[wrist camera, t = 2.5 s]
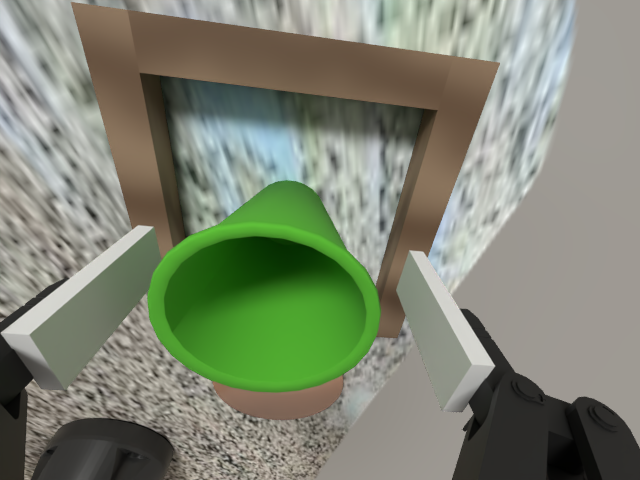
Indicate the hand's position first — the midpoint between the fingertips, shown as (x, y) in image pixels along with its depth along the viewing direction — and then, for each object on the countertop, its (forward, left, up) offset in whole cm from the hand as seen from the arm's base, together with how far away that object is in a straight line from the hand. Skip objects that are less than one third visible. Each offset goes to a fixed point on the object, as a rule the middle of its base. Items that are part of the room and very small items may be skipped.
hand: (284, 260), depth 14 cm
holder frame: (0, 0, -7) cm, 7 cm away
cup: (0, 0, -7) cm, 7 cm away
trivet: (-20, 0, -7) cm, 21 cm away
